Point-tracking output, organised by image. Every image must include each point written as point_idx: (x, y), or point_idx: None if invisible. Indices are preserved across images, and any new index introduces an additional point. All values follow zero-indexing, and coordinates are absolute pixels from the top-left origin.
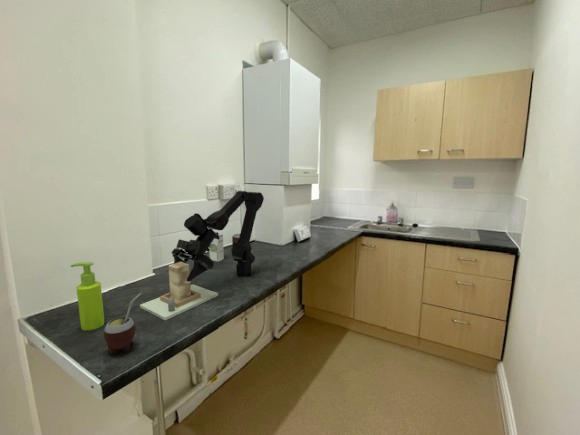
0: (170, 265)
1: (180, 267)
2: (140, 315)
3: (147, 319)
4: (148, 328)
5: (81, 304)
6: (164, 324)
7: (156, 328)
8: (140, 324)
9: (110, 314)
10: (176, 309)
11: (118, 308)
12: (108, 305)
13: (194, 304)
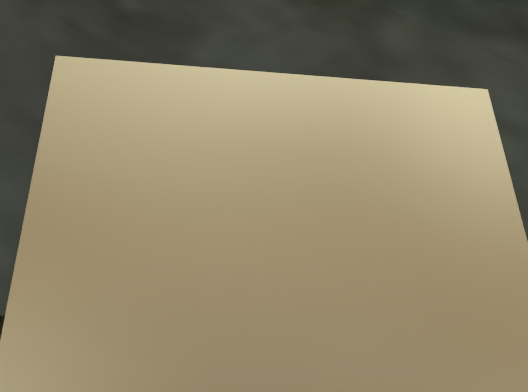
0: (440, 110)
1: (37, 180)
2: (263, 69)
3: (180, 62)
4: (78, 12)
5: None
6: (24, 73)
7: (33, 29)
8: (161, 17)
9: (404, 9)
10: None
11: (448, 59)
12: (523, 53)
13: None
